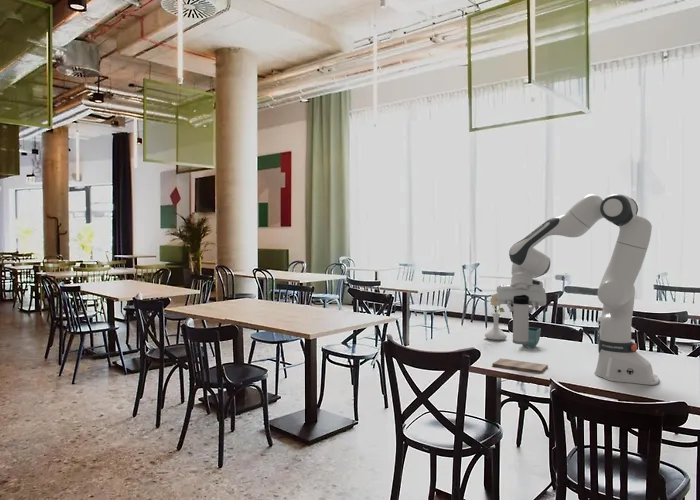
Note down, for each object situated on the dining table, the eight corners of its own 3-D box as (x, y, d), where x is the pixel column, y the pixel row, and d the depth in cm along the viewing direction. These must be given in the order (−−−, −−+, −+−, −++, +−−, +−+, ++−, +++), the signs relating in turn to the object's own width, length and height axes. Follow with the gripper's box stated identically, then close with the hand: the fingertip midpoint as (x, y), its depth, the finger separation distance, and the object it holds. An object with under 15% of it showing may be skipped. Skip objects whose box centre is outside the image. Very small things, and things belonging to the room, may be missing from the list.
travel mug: (531, 342, 224) (532, 295, 223) (524, 345, 219) (524, 297, 218) (517, 340, 228) (517, 294, 227) (509, 342, 223) (510, 295, 222)
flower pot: (541, 346, 264) (541, 328, 264) (536, 349, 257) (537, 331, 256) (523, 343, 269) (523, 326, 268) (518, 347, 261) (518, 329, 261)
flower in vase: (480, 337, 284) (481, 291, 283) (499, 336, 287) (500, 290, 286) (492, 342, 271) (493, 294, 270) (512, 341, 274) (513, 293, 273)
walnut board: (547, 367, 223) (547, 364, 223) (541, 373, 214) (541, 370, 214) (500, 361, 234) (500, 358, 234) (492, 366, 225) (492, 363, 225)
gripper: (496, 280, 232) (495, 305, 223) (546, 282, 226) (546, 308, 217) (497, 289, 237) (495, 314, 228) (545, 291, 230) (546, 317, 221)
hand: (520, 311), depth 222 cm, fingers closed on travel mug, 6 cm apart
